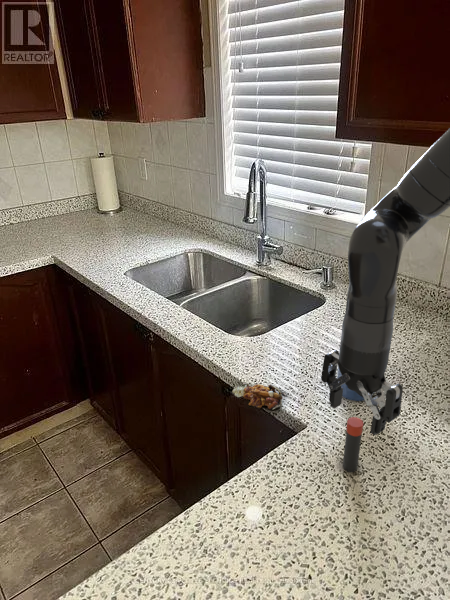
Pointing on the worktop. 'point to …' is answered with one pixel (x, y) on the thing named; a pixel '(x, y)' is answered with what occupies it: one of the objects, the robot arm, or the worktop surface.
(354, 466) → the marker
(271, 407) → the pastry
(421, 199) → the robot arm
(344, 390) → the vase
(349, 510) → the worktop surface
